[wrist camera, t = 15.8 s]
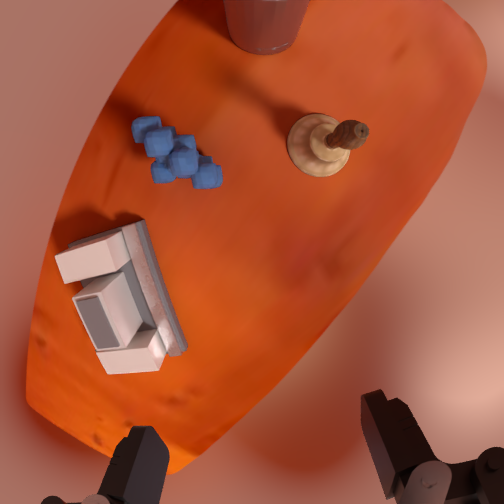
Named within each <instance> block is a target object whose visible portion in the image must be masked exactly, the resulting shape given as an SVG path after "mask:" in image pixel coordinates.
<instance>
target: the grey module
mask: <svg viewBox="0 0 504 504" xmlns="http://www.w3.org/2000/svg"><path fill="white" fill-rule="evenodd" d="M72 299H73V302H74V304H75V306H76V309H77V311H78V313H79V315H80V318H81V320H82V322H83V324H84V326H85V328H86V330H87V333H88V335H89V337H90V339H91V341H92V343H93V345H94V347H95V349H96V350H97V351H101V350H111V349H120V348H126V347H127V346H128V344H129V342H130V341H131V339H132V338H133V336H134V335H135V333H136V332H137V330H138V328H139V327H140V325H141V324H142V322H143V321H142V319H141V316H140V314H139V312H138V309H137V307H136V304H135V302H134V299H133V297H132V294H131V291H130V289H129V286H128V283H127V281H126V278H125V275H124V273H123V272H120V273H116V274H112V275H108V276H104V277H100V278H96V279H95V280H93V281H92V282H91V283H90V284H88V285H87V286H86V287H85V288H83V289H82V290H81V291H80V292H79V293H77V294H76V295H75V296H74V297H73V298H72Z"/></svg>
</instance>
